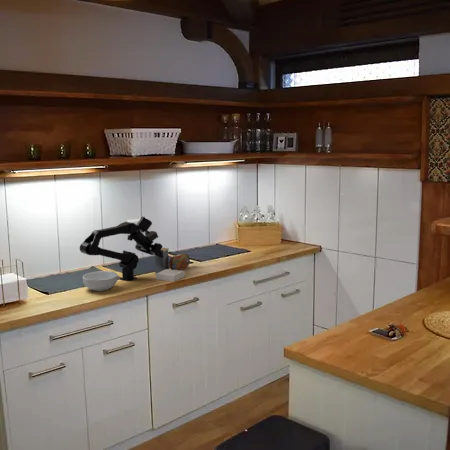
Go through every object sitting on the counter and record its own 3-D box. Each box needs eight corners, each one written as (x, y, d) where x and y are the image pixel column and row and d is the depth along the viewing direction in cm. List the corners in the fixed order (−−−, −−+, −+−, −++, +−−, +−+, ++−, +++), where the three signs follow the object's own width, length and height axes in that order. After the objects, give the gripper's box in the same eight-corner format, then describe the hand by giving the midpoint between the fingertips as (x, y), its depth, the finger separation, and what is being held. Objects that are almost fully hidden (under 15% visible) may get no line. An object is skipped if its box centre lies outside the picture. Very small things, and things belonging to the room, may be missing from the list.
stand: (174, 281, 285) (173, 275, 284) (155, 279, 289) (155, 273, 289) (184, 276, 295) (184, 271, 294) (166, 274, 299) (166, 269, 299)
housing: (163, 273, 301) (163, 250, 299) (154, 272, 303) (154, 249, 301) (169, 271, 306) (168, 248, 304) (160, 270, 308) (159, 247, 306)
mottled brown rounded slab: (172, 272, 304) (172, 257, 303) (168, 271, 306) (168, 256, 305) (190, 267, 316) (190, 252, 315) (186, 266, 318) (185, 252, 317)
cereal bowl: (76, 289, 272) (75, 275, 271) (104, 282, 284) (104, 269, 283) (96, 296, 260) (95, 281, 259) (124, 288, 272) (124, 274, 271)
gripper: (159, 229, 288) (176, 246, 297) (139, 225, 302) (156, 241, 311) (147, 245, 284) (164, 263, 293) (127, 241, 298) (145, 257, 307)
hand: (157, 255), depth 301 cm, fingers open, 9 cm apart
